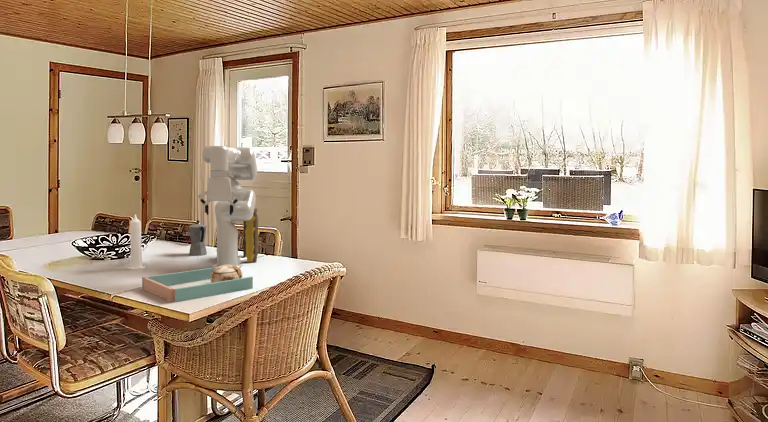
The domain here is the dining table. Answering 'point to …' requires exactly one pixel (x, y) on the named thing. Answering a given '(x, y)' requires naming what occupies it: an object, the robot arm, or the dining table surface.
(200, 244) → the coffeepot
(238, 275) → the trinket box
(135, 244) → the candle
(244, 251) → the book
